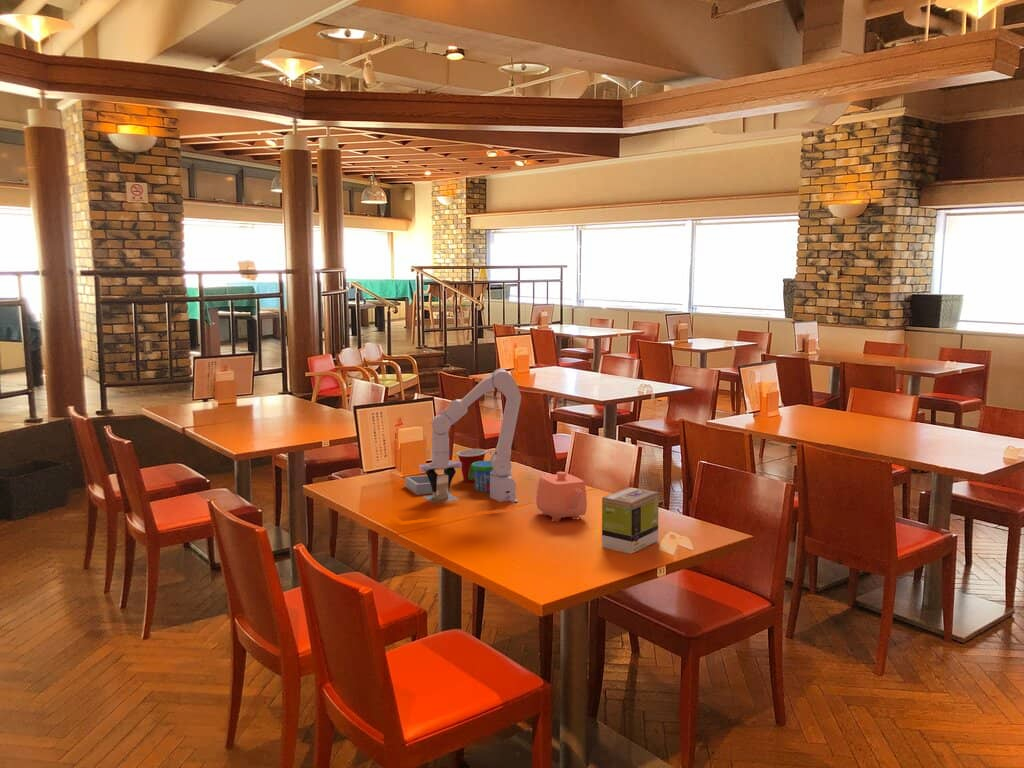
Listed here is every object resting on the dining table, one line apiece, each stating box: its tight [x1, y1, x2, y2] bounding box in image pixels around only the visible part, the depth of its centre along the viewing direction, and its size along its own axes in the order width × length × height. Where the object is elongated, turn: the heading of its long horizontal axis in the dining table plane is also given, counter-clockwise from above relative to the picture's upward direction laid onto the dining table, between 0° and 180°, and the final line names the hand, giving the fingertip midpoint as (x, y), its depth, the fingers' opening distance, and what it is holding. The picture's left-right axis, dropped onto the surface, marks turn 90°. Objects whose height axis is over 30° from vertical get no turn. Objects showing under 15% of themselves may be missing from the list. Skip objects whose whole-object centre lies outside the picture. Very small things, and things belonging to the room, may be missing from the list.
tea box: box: [601, 486, 659, 555], centre depth 230 cm, size 15×10×15 cm, turn 141°
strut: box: [432, 472, 449, 500], centre depth 274 cm, size 4×4×8 cm
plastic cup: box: [456, 448, 487, 484], centre depth 299 cm, size 11×11×12 cm
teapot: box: [535, 471, 588, 522], centre depth 257 cm, size 22×13×14 cm, turn 24°
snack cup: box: [468, 460, 493, 493], centre depth 286 cm, size 16×10×10 cm
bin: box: [404, 474, 433, 496], centre depth 286 cm, size 12×12×4 cm
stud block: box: [421, 492, 461, 504], centre depth 275 cm, size 10×10×4 cm
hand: (440, 490), depth 275 cm, fingers closed on strut, 4 cm apart
